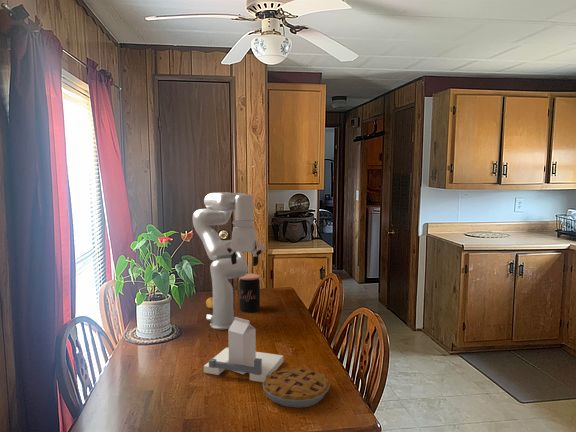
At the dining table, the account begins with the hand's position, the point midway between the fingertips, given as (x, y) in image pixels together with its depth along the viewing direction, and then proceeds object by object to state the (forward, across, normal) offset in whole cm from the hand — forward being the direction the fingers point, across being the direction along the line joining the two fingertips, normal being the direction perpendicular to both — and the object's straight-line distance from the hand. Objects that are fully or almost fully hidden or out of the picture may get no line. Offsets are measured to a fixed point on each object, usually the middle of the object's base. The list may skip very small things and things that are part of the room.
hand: (244, 264), depth 189 cm
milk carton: (+34, +10, -25) cm, 43 cm away
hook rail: (+31, +10, -31) cm, 45 cm away
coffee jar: (+34, -16, +41) cm, 55 cm away
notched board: (+33, +10, -23) cm, 42 cm away
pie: (+34, +34, -35) cm, 59 cm away
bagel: (+34, -35, +40) cm, 63 cm away
